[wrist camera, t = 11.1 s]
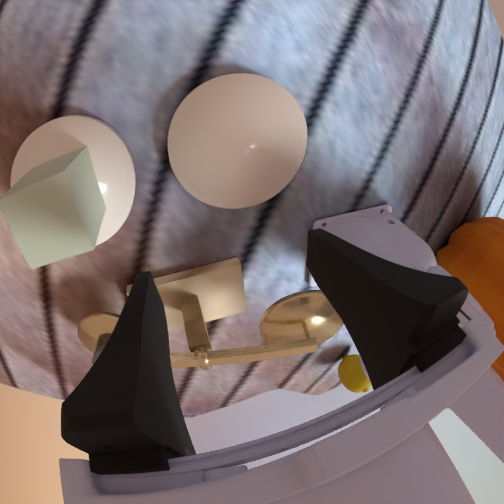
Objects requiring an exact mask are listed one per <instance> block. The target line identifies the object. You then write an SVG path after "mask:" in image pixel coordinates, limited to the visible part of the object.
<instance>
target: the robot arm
mask: <svg viewBox="0 0 504 504" xmlns="http://www.w3.org/2000/svg"><path fill="white" fill-rule="evenodd" d="M391 211H392V206H391V205H389V204H386V205H381V206H377V207H372V208H368V209H363V210H359V211H354V212H350V213H345V214H341V215H337V216H332V217H328V218H324V219H319V220H316V221H315V222H314V223H313V230H310V231H308V246H307V263H306V266H307V268H308V269H309V271H310V273H309V285H310V286H311V287H314V286H317V285H318V287H319V288H320V290H321V291H322V293H323V294H324V295H325V297H326V298H327V299H328V301H329V302H330V304H331V305H332V306H333V308H334V309H335V311H336V312H337V313H338V315H339V316H340V318H341V319H342V321H343V323H344V324H345V326H346V328H347V330H348V332H349V334H350V336H351V338H352V340H353V342H354V344H355V346H356V348H357V350H358V352H359V354H360V362H361V366H362V369H363V371H364V373H365V375H366V377H367V378H368V380H369V381H370V382H371V384H372V387H373V389H374V391H372V392H370V393H368V394H366V395H364V396H363V397H361V398H359V399H357V400H355V401H353V402H351V403H349V404H346V405H344V406H342V407H340V408H338V409H336V410H334V411H332V412H329V413H327V414H325V415H322V416H320V417H318V418H315V419H313V420H310V421H308V422H305V423H303V424H300V425H298V426H295V427H292V428H290V429H287V430H284V431H281V432H278V433H275V434H272V435H269V436H266V437H263V438H260V439H257V440H253V441H250V442H246V443H243V444H239V445H236V446H232V447H228V448H224V449H220V450H215V451H211V452H206V453H202V454H196V452H195V450H194V447H193V444H192V441H191V439H190V436H189V433H188V430H187V427H186V424H185V421H184V417H183V414H182V411H181V407H180V403H179V400H178V396H177V392H176V388H175V384H174V379H173V375H172V368H171V359H170V349H169V338H168V326H167V319H166V314H165V309H164V304H163V301H162V299H161V297H160V294H159V292H158V289H157V287H156V285H155V282H154V280H153V277H152V274H151V272H150V271H148V272H144V273H140V274H137V275H136V277H135V279H134V282H133V285H132V287H131V290H130V293H129V295H128V298H127V300H126V303H125V305H124V308H123V310H122V312H121V315H120V317H119V319H118V321H117V323H116V326H115V328H114V330H113V332H112V334H111V336H110V338H109V340H108V341H107V343H106V345H105V347H104V349H103V350H102V352H101V354H100V355H99V357H98V358H97V360H96V361H95V363H94V364H93V366H92V367H91V369H90V370H89V372H88V373H87V374H86V376H85V377H84V378H83V380H82V381H81V382H80V383H79V385H78V386H77V387H76V388H75V389H74V391H73V392H72V393H71V394H70V395H69V396H68V397H67V399H66V400H65V401H64V402H63V403H62V408H61V436H62V438H63V439H64V440H65V441H66V442H67V443H68V444H70V445H72V446H74V447H76V448H78V449H80V450H82V451H84V452H86V453H88V454H89V461H88V460H83V459H62V458H61V459H59V465H60V476H61V485H62V492H63V499H64V504H475V502H474V501H473V499H472V497H471V495H470V493H469V491H468V489H467V487H466V486H465V484H464V482H463V480H462V478H461V477H460V475H459V473H458V471H457V470H456V468H455V466H454V464H453V463H452V461H451V459H450V458H449V456H448V454H447V453H446V451H445V449H444V448H443V446H442V444H441V443H440V441H439V439H438V438H437V436H436V434H435V433H434V431H433V430H432V428H431V427H430V425H429V423H428V422H429V421H431V420H432V419H433V418H434V417H436V416H437V415H438V414H439V413H441V412H442V411H443V410H444V409H446V408H450V409H451V410H452V411H453V412H454V413H455V414H456V415H457V416H458V417H459V418H460V419H461V420H462V421H463V422H464V423H465V424H466V425H467V426H468V427H469V428H470V429H471V430H472V431H473V432H474V433H475V434H476V435H477V436H478V437H479V438H480V439H481V440H482V441H483V442H484V443H485V444H486V445H487V446H488V447H489V448H490V450H491V451H492V452H493V453H494V454H495V455H496V456H497V457H498V458H499V459H500V460H501V461H502V462H503V463H504V381H503V380H502V379H501V377H500V376H499V375H498V374H497V373H496V372H495V371H494V369H493V368H492V367H491V366H490V365H491V364H492V363H493V362H494V361H495V360H496V359H497V358H498V357H499V355H500V354H501V353H502V352H503V351H504V346H503V345H502V343H501V342H500V341H499V340H498V338H497V337H496V331H495V329H494V323H493V321H492V320H491V318H490V317H489V316H488V314H487V313H486V312H485V311H484V310H483V308H482V306H481V305H480V304H479V303H478V302H477V301H476V299H475V298H474V297H473V296H472V295H471V294H470V293H469V292H468V288H467V287H466V286H465V285H464V284H463V283H462V282H461V281H460V280H459V279H458V278H457V277H453V276H451V275H450V274H449V273H448V272H447V271H446V270H445V269H443V268H442V267H441V266H439V265H437V262H436V258H435V256H434V253H433V251H432V250H431V248H430V247H429V245H428V244H427V243H426V242H425V241H424V240H423V239H421V238H420V237H419V236H418V235H417V234H415V233H414V232H413V231H412V230H411V229H409V228H408V227H407V226H406V225H404V224H403V223H402V222H401V221H399V220H398V219H397V218H395V217H394V216H393V215H392V214H391ZM323 223H324V225H322V224H323ZM383 405H384V406H383ZM380 407H381V409H380V411H379V412H377V413H375V414H373V415H372V416H370V417H368V418H366V419H364V420H362V421H360V422H359V423H357V424H355V425H353V426H351V427H349V428H347V429H345V430H342V431H341V432H338V433H336V434H334V435H332V436H330V437H327V438H326V439H323V440H321V441H320V442H317V443H315V444H313V445H311V446H309V447H306V448H304V449H302V450H300V451H297V452H295V453H292V454H290V455H287V456H285V457H282V458H280V459H277V460H275V461H272V462H269V463H267V464H264V465H261V466H258V467H255V468H252V469H249V470H248V469H247V466H245V465H241V464H245V463H248V462H252V461H255V460H259V459H262V458H265V457H268V456H272V455H275V454H277V453H281V452H283V451H286V450H289V449H292V448H295V447H297V446H300V445H302V444H305V443H307V442H310V441H312V440H315V439H317V438H320V437H322V436H324V435H327V434H329V433H331V432H333V431H335V430H337V429H340V428H342V427H343V426H346V425H348V424H350V423H352V422H354V421H356V420H358V419H360V418H362V417H364V416H365V415H367V414H369V413H371V412H373V411H374V410H376V409H378V408H380ZM237 465H241V466H237ZM233 466H234V467H233Z"/></svg>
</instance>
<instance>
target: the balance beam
mask: <svg viewBox="0 0 504 504" xmlns="http://www.w3.org/2000/svg"><path fill="white" fill-rule="evenodd" d="M119 317H120V315H118V314H114V313H109V312H93V313H89V314H87V315H85V316H84V317H83V318H82V319H81V321H80V323H79V326H78V331H77V332H78V336H79V338H80V340H81V342H82V343H83V344H84V345H85V347H87V348H88V349H89V350H90V351H91V352H93V353H94V356H93V360H92V363H93V364H94V363H95V361H96V360H97V358H98V357H99V355H100V354H101V352H102V350H103V349H104V347H105V345H106V343H107V341H108V340H109V338H110V336H111V334H112V332H113V330H114V328H115V326H116V323H117V321H118V319H119ZM343 324H344V323H343V321H342V319H341V318H340V316H339V315H338V313H337V312H336V311H335V309H334V308H333V306H332V305H331V304H330V302H329V301H328V299H327V298H326V297H325V295H324V294H323V293H322V291H321V290H307V291H301V292H297V293H293V294H291V295H288V296H286V297H284V298H282V299H280V300H278V301H277V302H275V303H274V304H272V305H271V306H270V307H269V308H268V309H267V310H266V311H265V313H264V314H263V316H262V318H261V320H260V332H261V337H262V339H263V340H264V342H265V343H266V344H268V345H260V346H253V347H244V348H235V349H226V350H215V351H207V349H206V348H204V347H199V348H197V349H196V350H195V352H190V353H173V354H170V359H171V368H180V367H197V366H200V368H201V369H203V370H208V369H210V368H211V367H212V365H223V364H233V363H242V362H251V361H259V360H267V359H274V358H280V357H287V356H293V355H299V354H305V353H310V352H316V351H317V347H318V345H319V344H321V343H323V342H325V341H326V340H328V339H330V338H331V337H332V336H334V335H335V334H336V333H337V332H338V331H339V330H340V328H341V327H342V326H343Z"/></svg>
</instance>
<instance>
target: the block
mask: <svg viewBox="0 0 504 504" xmlns="http://www.w3.org/2000/svg"><path fill="white" fill-rule="evenodd" d="M0 208H1V210H2V212H3V215H4V217H5V219H6V221H7V224H8V226H9V228H10V230H11V232H12V234H13V236H14V238H15V240H16V242H17V244H18V246H19V248H20V250H21V252H22V254H23V256H24V257H25V259H26V261H27V263H28V265H29V266H30V268H31V269H34V268H37V267H40V266H44V265H47V264H50V263H53V262H56V261H59V260H62V259H66V258H69V257H72V256H75V255H79V254H82V253H85V252H89V251H92V250H94V249H95V245H96V241H97V238H98V234H99V231H100V227H101V224H102V221H103V217H104V214H105V211H106V205H105V202H104V199H103V196H102V193H101V190H100V187H99V184H98V181H97V178H96V174H95V171H94V168H93V164H92V161H91V157H90V153H89V150H88V146H86V147H83V148H81V149H78V150H75V151H72V152H70V153H67V154H65V155H62V156H60V157H57V158H55V159H52V160H50V161H48V162H45V163H43V164H41V165H39V166H36V167H34V168H32V169H30V170H29V171H28V172H27V173H26V174H25V175H24V176H23V177H22V178H21V179H19V180H18V181H17V182H16V183H15V184H14V185H13V186H12V187H11V188H10V189H9V190H8V191H7V192H6V193H5V194H4V195H3V196H2V197H1V198H0Z"/></svg>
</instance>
